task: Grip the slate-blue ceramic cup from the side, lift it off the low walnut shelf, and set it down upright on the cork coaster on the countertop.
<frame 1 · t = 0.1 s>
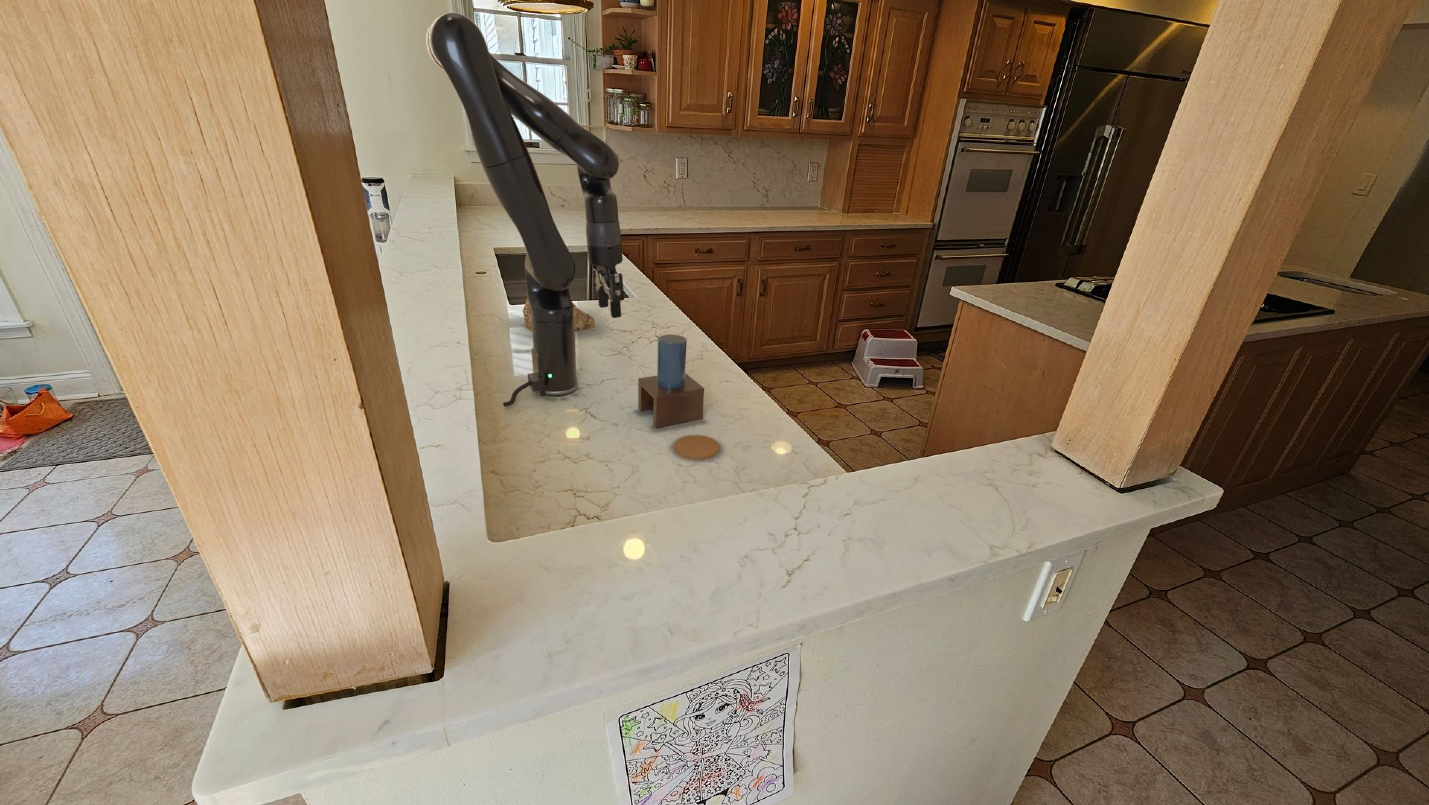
hand: (610, 311, 141), 18 cm above the counter, tool pointing down, fingers open, 8 cm apart
rock: (560, 334, 180), on the counter
coaster: (696, 448, 122), on the counter
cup: (670, 383, 131), point 8 cm above the counter, touching shelf
shelf: (669, 416, 134), on the counter
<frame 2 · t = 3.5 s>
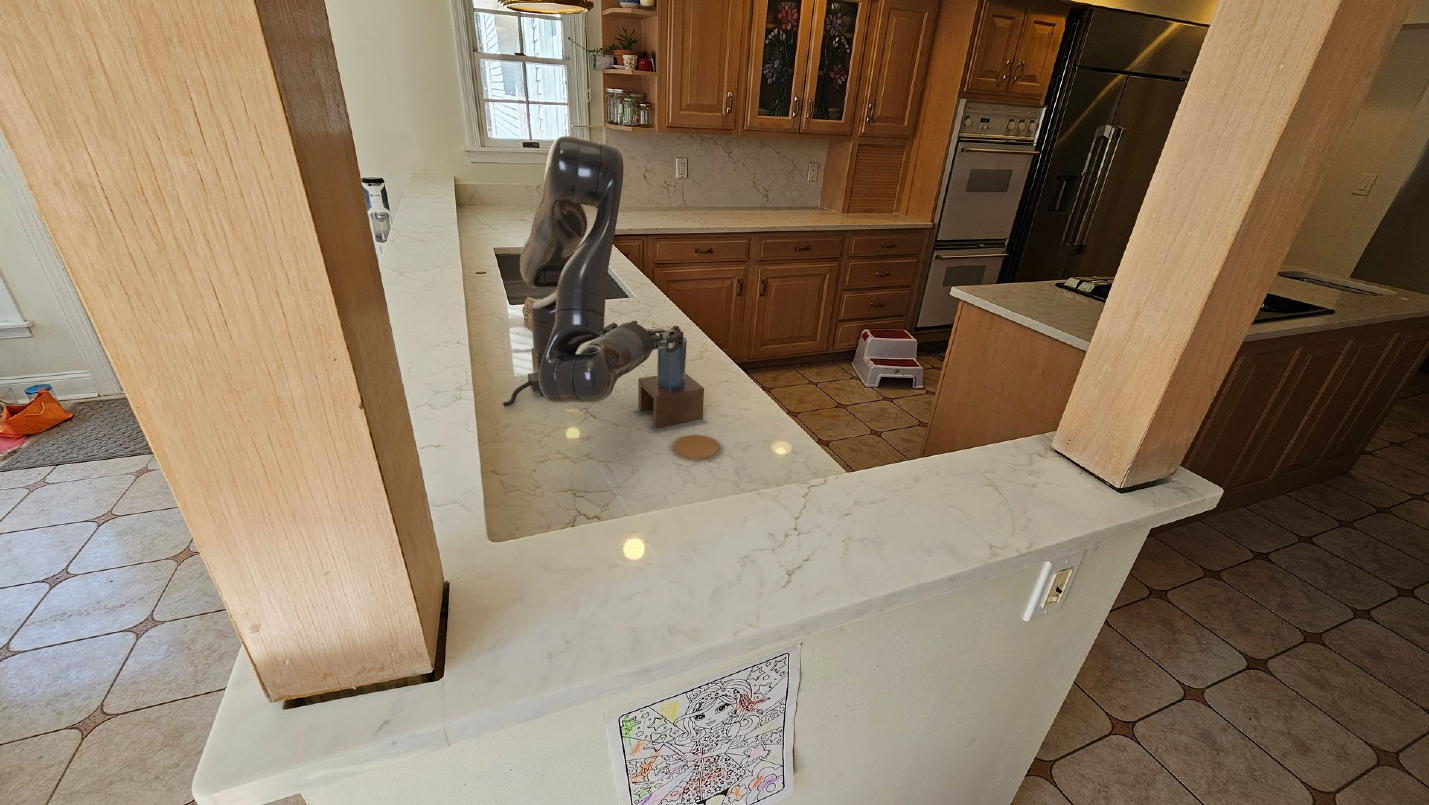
hand: (656, 328, 117), 23 cm above the counter, tool horizontal, fingers open, 8 cm apart
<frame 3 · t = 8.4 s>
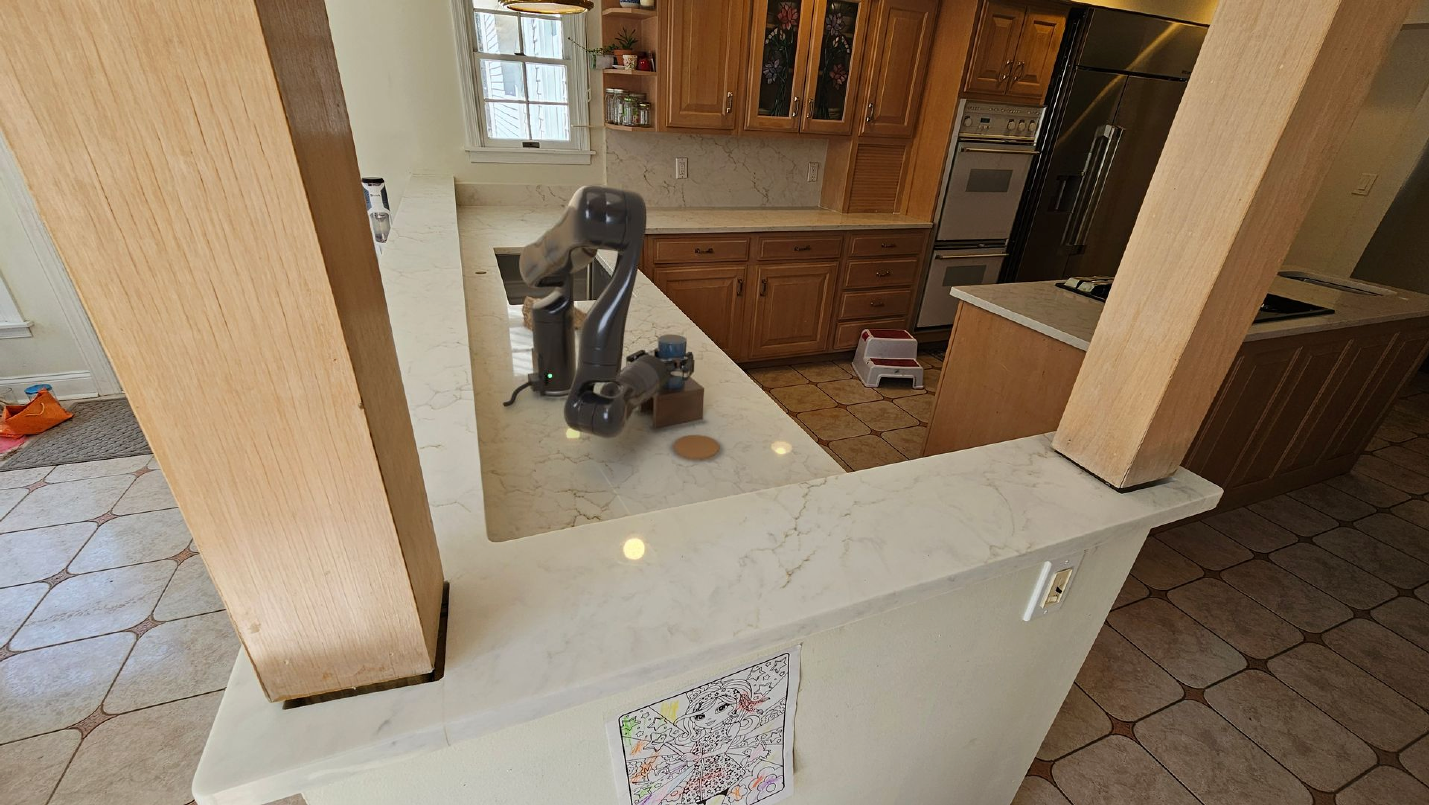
hand: (676, 353, 130), 14 cm above the counter, tool horizontal, fingers closed on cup, 6 cm apart
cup: (670, 383, 131), point 8 cm above the counter, touching gripper, shelf
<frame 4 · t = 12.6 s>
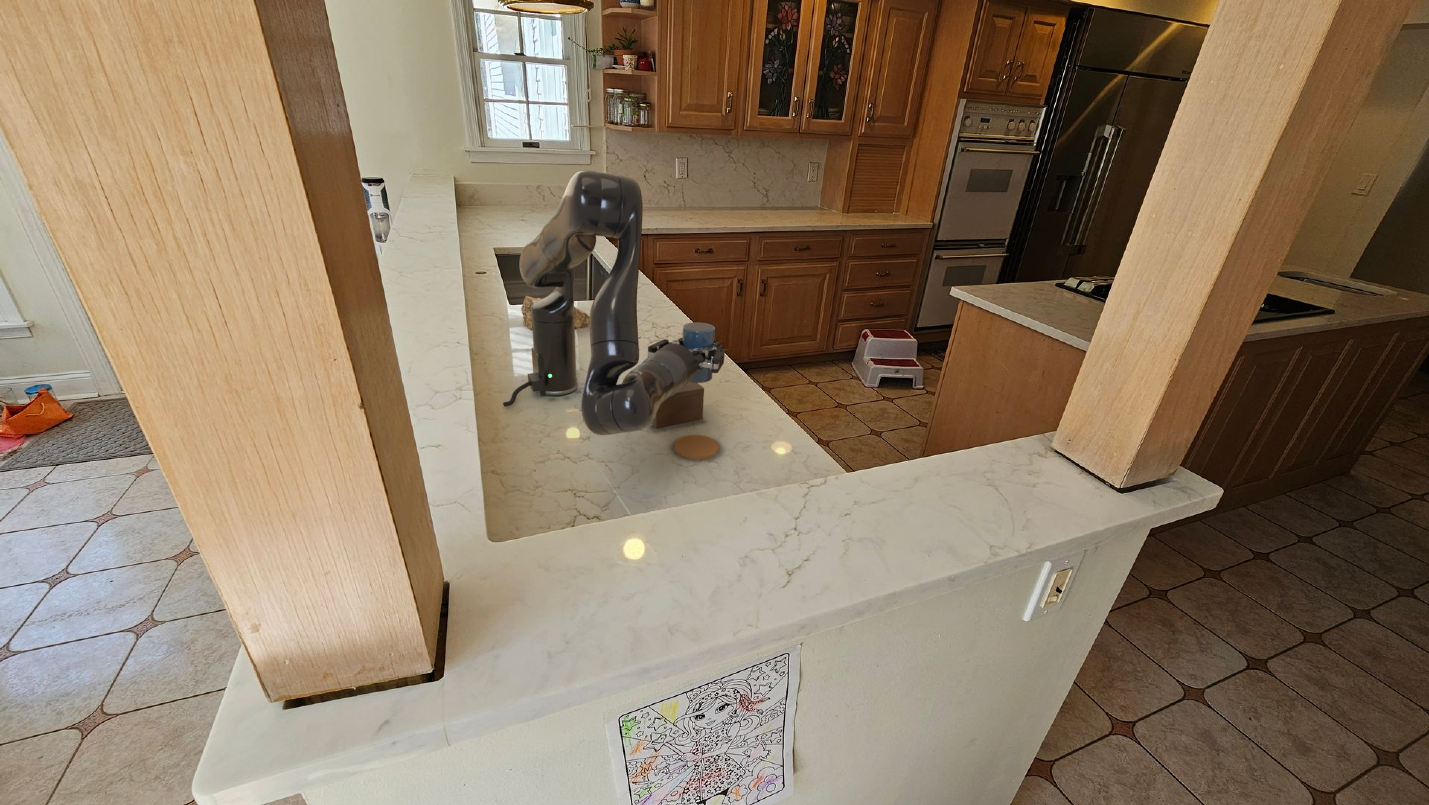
hand: (702, 343, 117), 21 cm above the counter, tool horizontal, fingers closed on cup, 6 cm apart
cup: (696, 377, 117), point 15 cm above the counter, touching gripper
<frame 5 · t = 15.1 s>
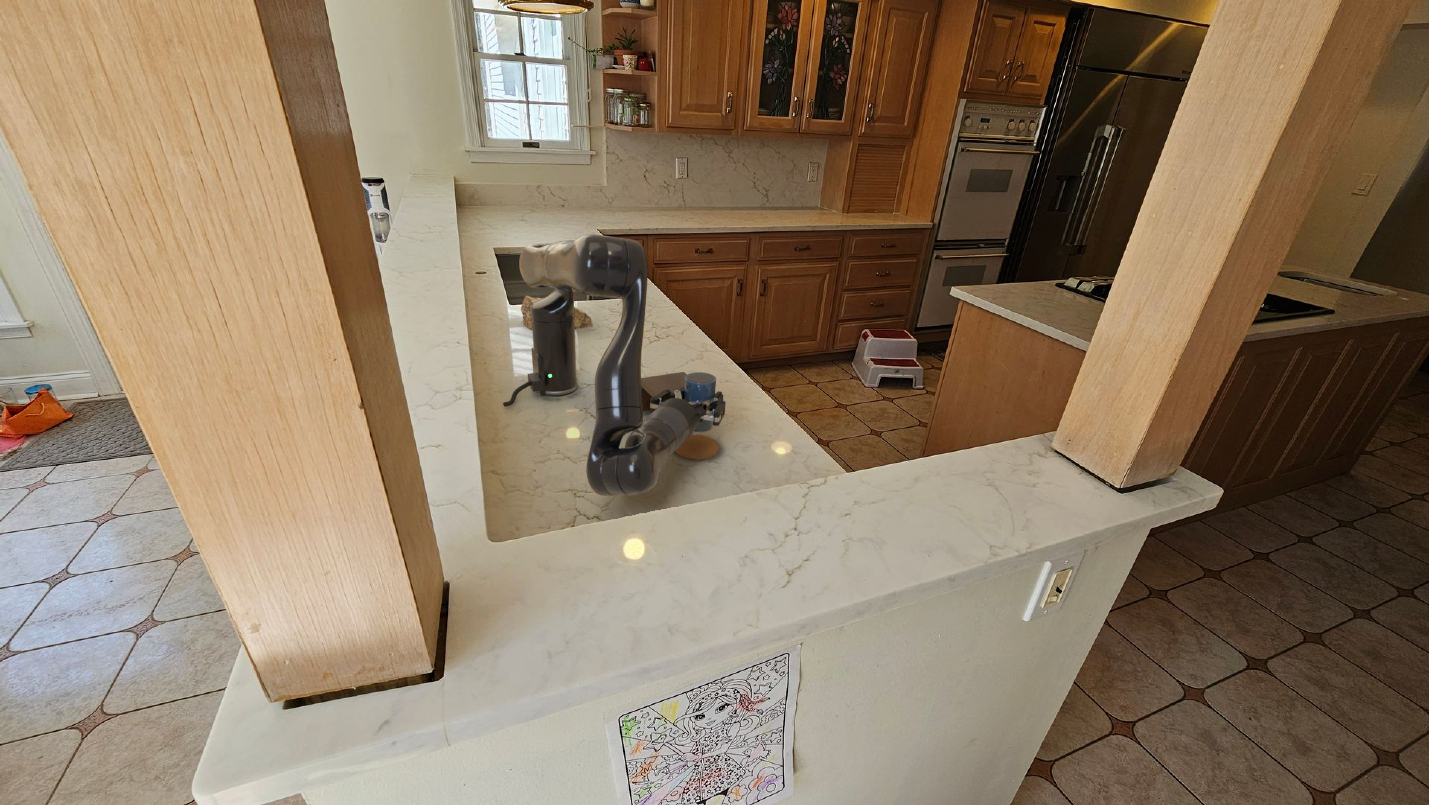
hand: (704, 392, 119), 11 cm above the counter, tool horizontal, fingers closed on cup, 6 cm apart
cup: (698, 425, 120), point 5 cm above the counter, touching gripper
when the fingers open (7 cm above the counter, at t = 17.0 s): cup stays where it is, resting on coaster.
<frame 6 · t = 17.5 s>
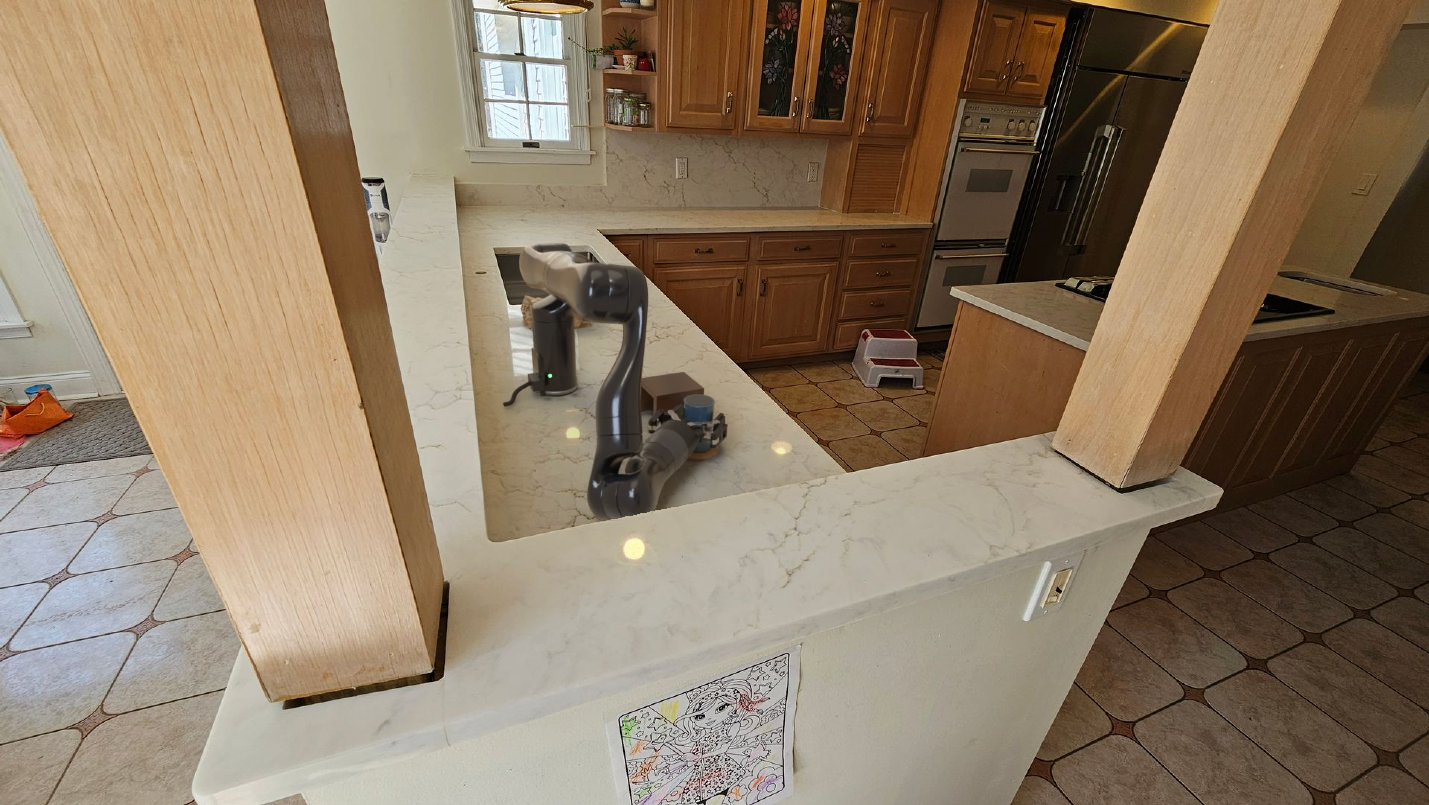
hand: (701, 412, 121), 7 cm above the counter, tool horizontal, fingers open, 8 cm apart
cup: (696, 445, 121), point 1 cm above the counter, touching coaster
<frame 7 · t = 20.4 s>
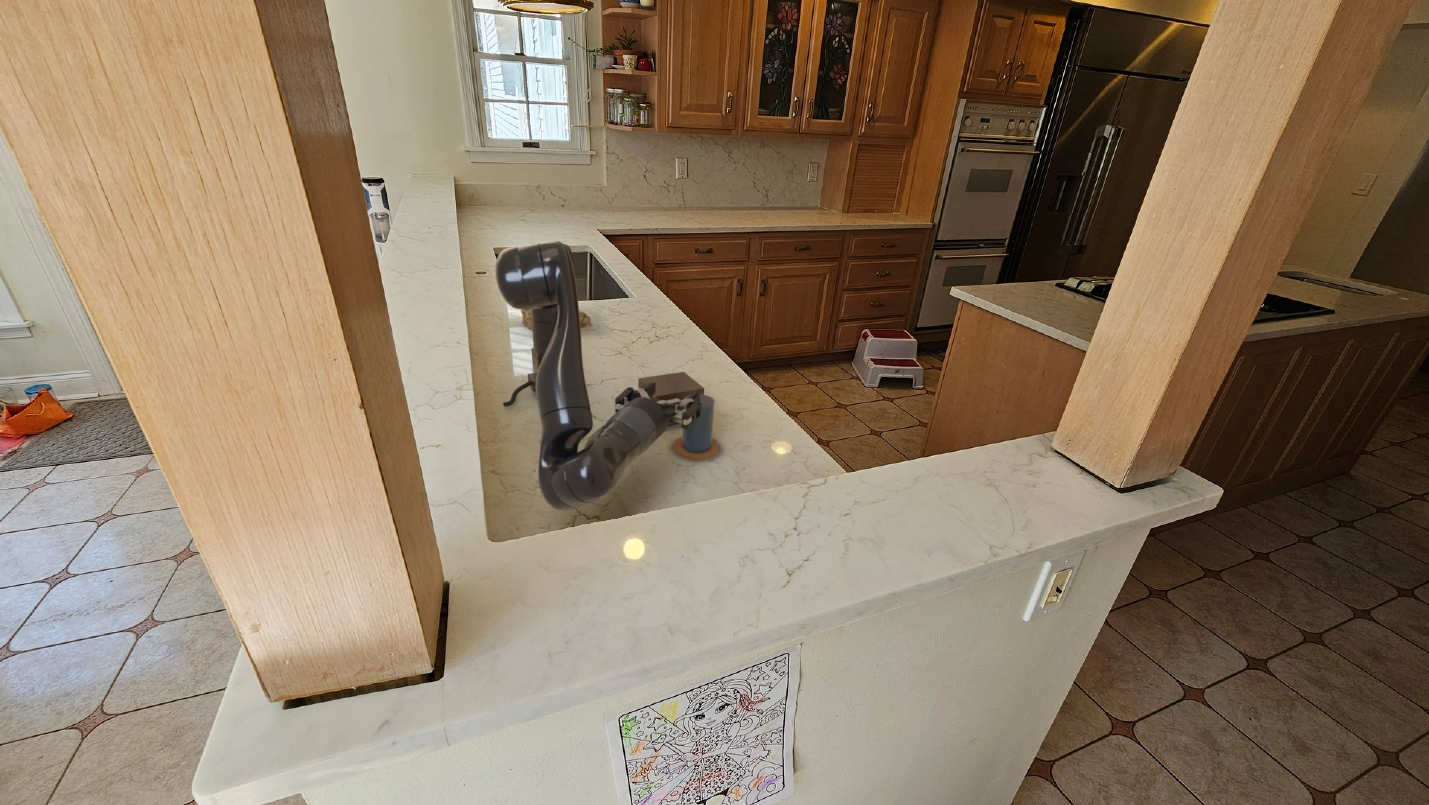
hand: (675, 391, 111), 15 cm above the counter, tool horizontal, fingers open, 8 cm apart
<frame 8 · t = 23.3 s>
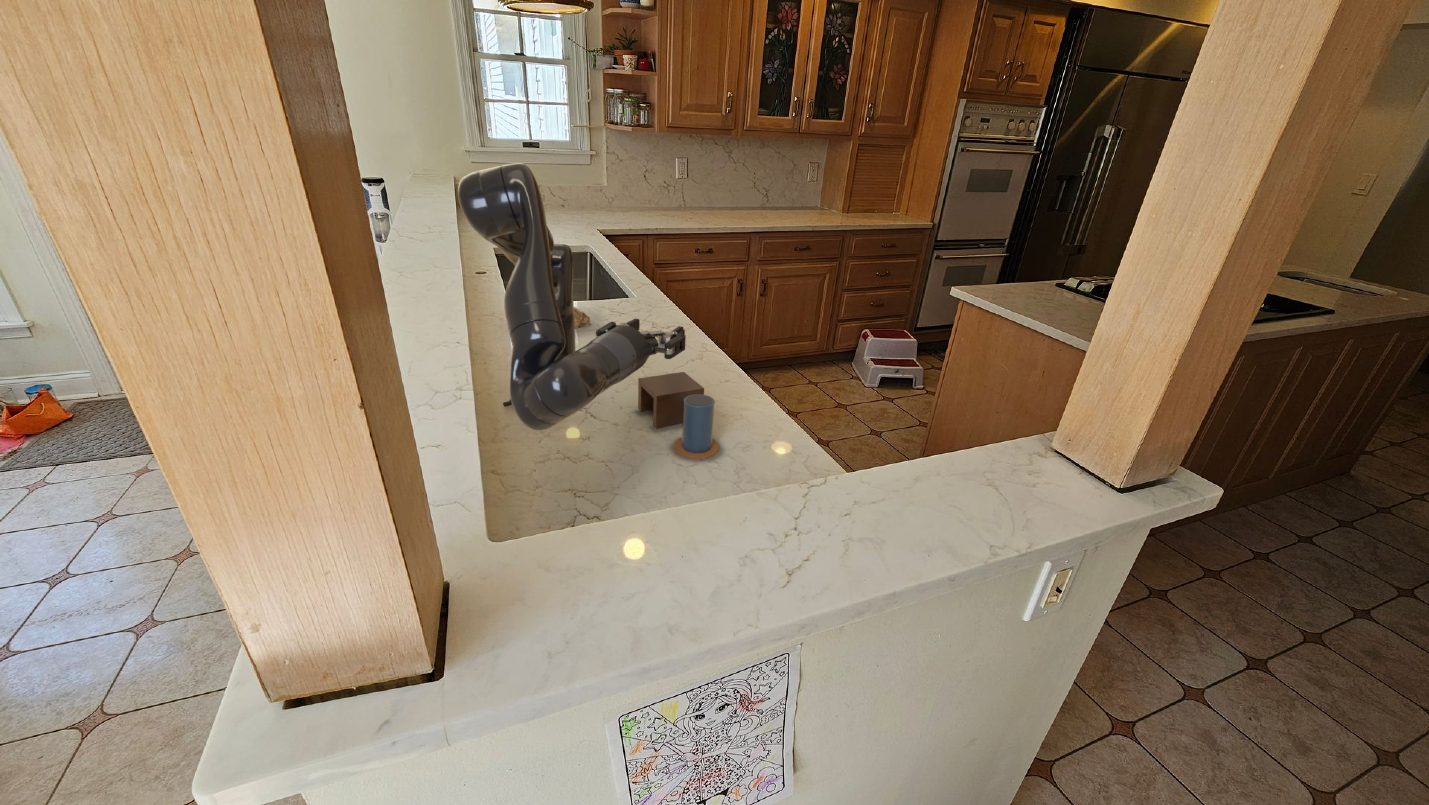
hand: (659, 327, 107), 26 cm above the counter, tool horizontal, fingers open, 8 cm apart
at the end: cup 0.1 cm from the target spot, point 0.6 cm above the counter; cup tilted 0°; the gripper is holding nothing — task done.
